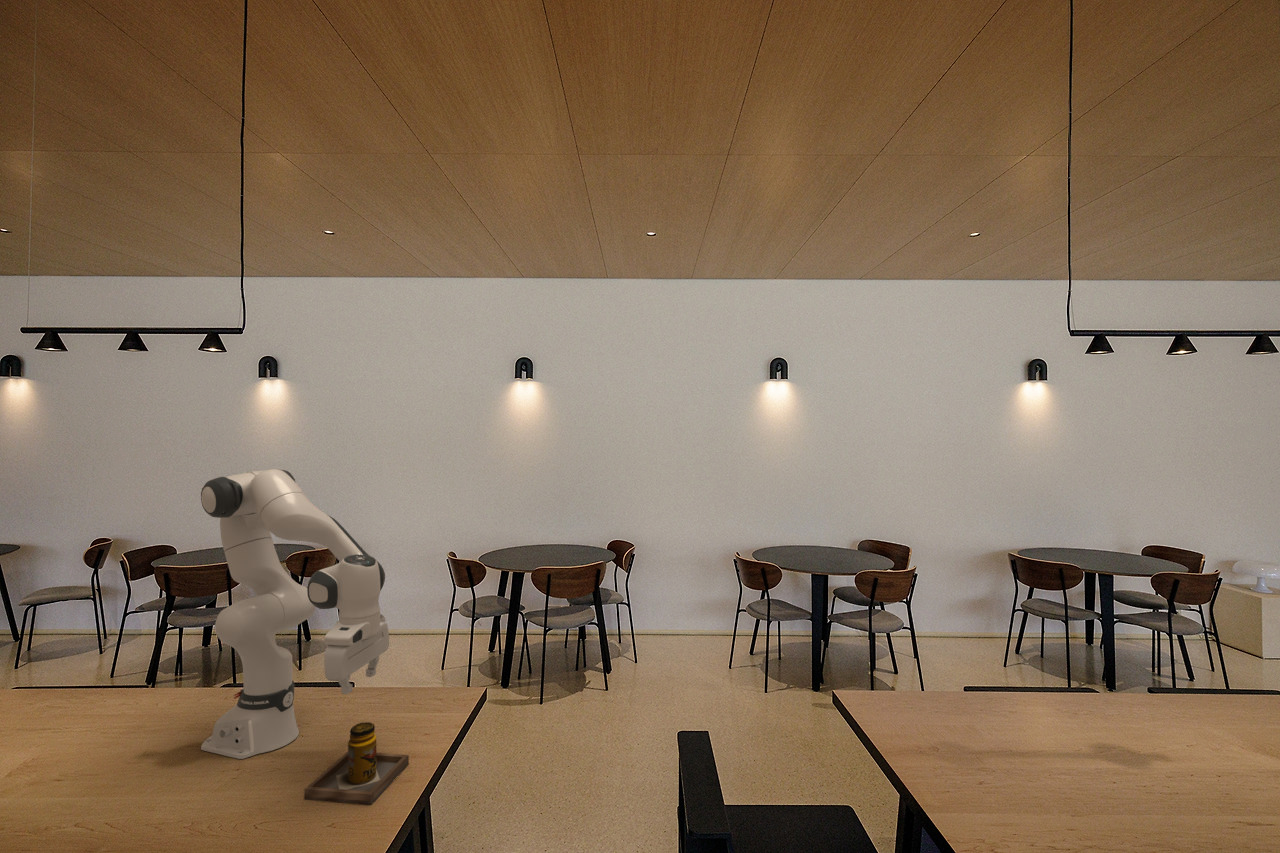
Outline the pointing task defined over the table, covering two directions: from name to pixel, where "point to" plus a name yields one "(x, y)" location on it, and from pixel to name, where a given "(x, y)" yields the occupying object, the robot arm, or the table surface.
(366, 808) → the table surface
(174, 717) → the table surface
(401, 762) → the square wooden tray
